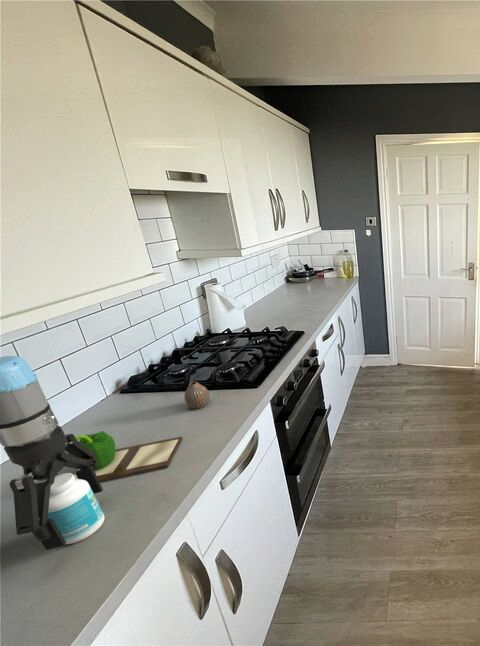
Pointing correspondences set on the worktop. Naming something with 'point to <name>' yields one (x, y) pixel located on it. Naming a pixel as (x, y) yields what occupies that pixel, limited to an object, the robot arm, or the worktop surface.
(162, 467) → the board
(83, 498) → the pill bottle
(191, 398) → the brown rounded bulb
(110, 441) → the bell pepper
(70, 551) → the worktop surface
